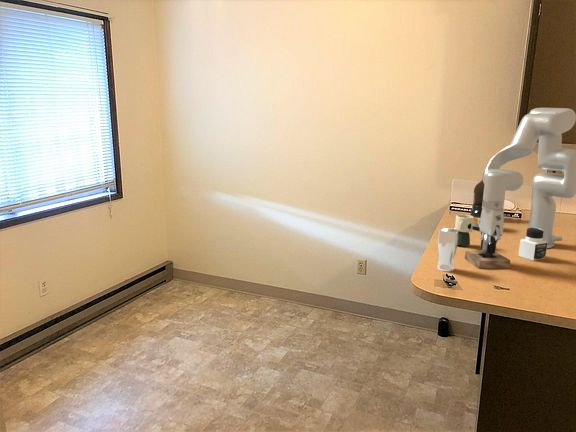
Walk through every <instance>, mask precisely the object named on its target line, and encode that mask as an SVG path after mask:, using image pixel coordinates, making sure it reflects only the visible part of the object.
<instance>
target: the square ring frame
mask: <svg viewBox="0 0 576 432" xmlns="http://www.w3.org/2000/svg"><path fill="white" fill-rule="evenodd" d="M481 255H482V250H470V251H469V250H466V251H465V252H464V259H465V260H466V261H468V262H469V263H470V264H472V265H474V266H475V268H477V269H510V267H511V260H510V259H509V258H507V257H505V256H504V255H502V254H500V253H499V252H497V251H496V250H495V253H494V254H493V258H483V257H481Z"/></svg>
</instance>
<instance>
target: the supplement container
mask: <svg viewBox="0 0 576 432" xmlns="http://www.w3.org/2000/svg"><path fill="white" fill-rule="evenodd" d="M471 208H472V209H470V214H469V215H470V216H473V217H474V219H473V228H472V230H474V231H478V232H481V231H480V228H479V227H480V218H481V212H482V203H474V204H473V203H472V204H471Z"/></svg>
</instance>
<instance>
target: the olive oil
mask: <svg viewBox="0 0 576 432" xmlns="http://www.w3.org/2000/svg"><path fill="white" fill-rule="evenodd" d="M483 175H484V172H483V174H482V176H483ZM473 189H474V190H473V199H472V201H473V202H472V204H474V203H482V202H483V194H484V183H483V178H482V179H481V180H480V181H479V182H478V183H477V184H476V185H475V186H474V188H473Z"/></svg>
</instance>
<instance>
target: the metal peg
mask: <svg viewBox="0 0 576 432" xmlns="http://www.w3.org/2000/svg"><path fill="white" fill-rule="evenodd" d="M493 235H495V234H493ZM492 238H494V237H492ZM482 240H483V246H482V250H481V251H482V255H481V257H483V258H493V254H487V253H486V252H487V243H489V235H487V234H485V233H484V237H483V239H482Z"/></svg>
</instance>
